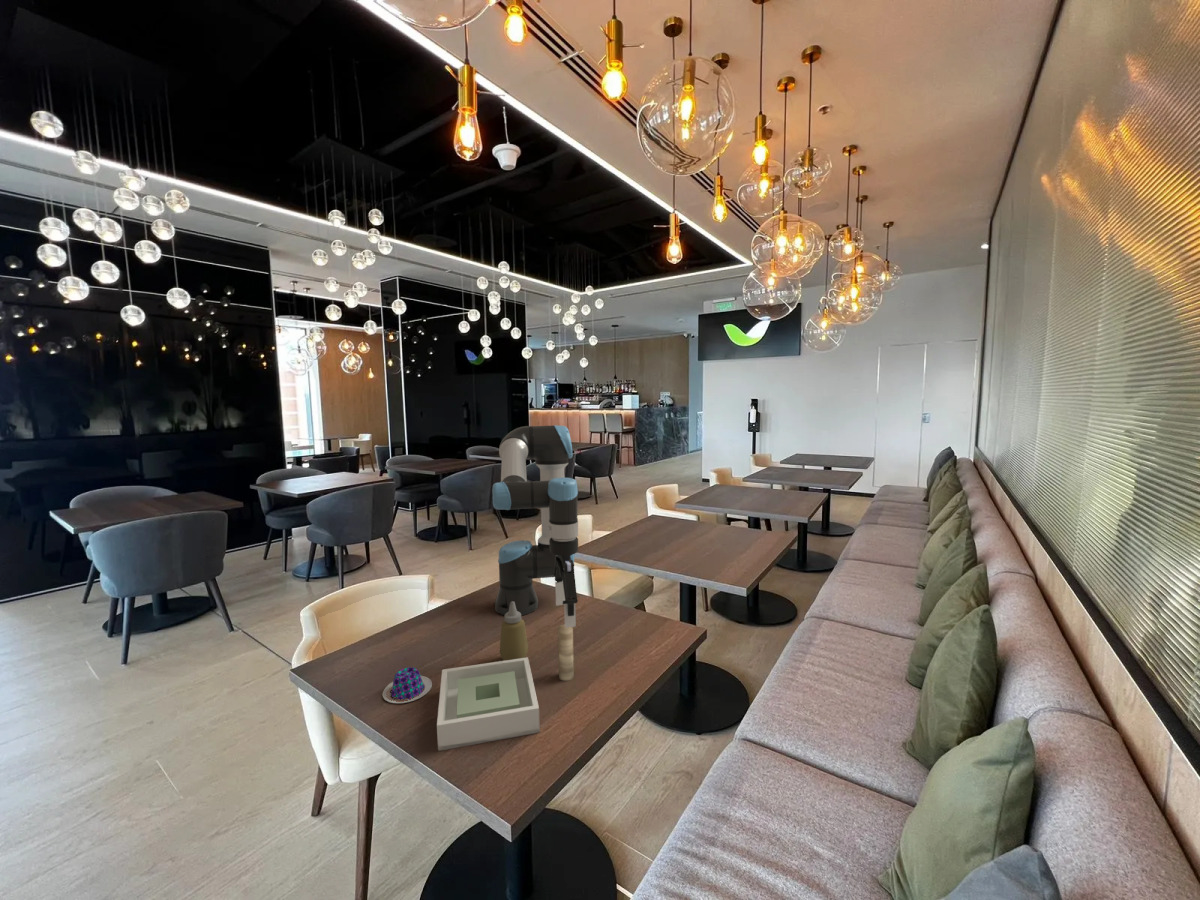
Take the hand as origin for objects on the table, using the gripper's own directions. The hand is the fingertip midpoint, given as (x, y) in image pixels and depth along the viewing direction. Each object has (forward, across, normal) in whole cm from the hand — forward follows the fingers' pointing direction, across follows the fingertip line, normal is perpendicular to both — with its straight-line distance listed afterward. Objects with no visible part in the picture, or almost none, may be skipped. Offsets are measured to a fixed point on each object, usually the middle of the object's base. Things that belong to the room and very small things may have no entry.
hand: (565, 615), depth 132 cm
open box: (+18, +8, -21) cm, 29 cm away
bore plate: (+18, +8, -21) cm, 29 cm away
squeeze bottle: (+18, -12, -13) cm, 25 cm away
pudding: (+18, -6, -41) cm, 45 cm away
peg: (+18, 0, 0) cm, 18 cm away
